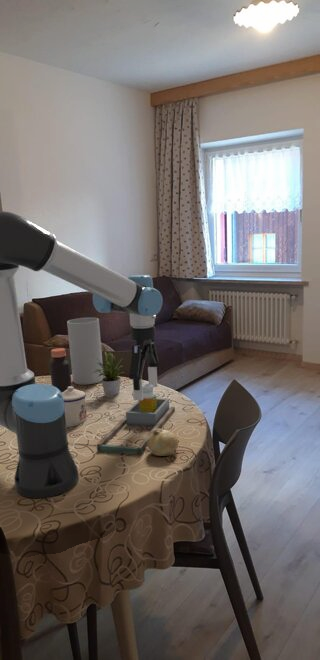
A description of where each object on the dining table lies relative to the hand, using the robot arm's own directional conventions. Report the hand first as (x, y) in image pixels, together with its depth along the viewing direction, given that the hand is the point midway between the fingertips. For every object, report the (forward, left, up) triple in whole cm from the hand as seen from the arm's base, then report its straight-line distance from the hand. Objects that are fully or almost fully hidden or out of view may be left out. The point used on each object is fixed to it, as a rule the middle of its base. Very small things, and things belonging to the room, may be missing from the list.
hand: (146, 393), depth 158 cm
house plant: (+22, +23, -9) cm, 33 cm away
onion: (-22, -12, -9) cm, 27 cm away
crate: (0, 0, -8) cm, 8 cm away
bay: (-8, 0, -9) cm, 12 cm away
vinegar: (+9, +35, -9) cm, 37 cm away
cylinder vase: (+37, +39, -9) cm, 54 cm away
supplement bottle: (0, 0, -8) cm, 8 cm away
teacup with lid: (-4, +24, -9) cm, 26 cm away
